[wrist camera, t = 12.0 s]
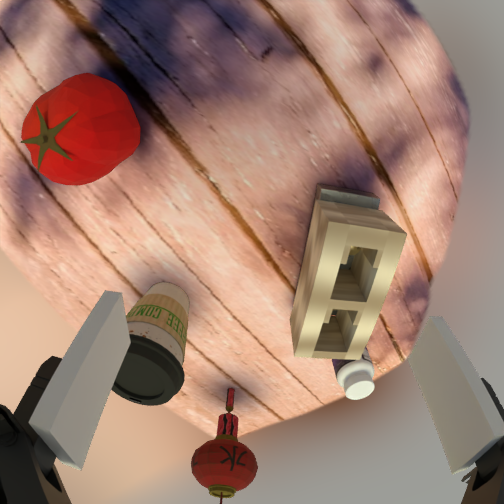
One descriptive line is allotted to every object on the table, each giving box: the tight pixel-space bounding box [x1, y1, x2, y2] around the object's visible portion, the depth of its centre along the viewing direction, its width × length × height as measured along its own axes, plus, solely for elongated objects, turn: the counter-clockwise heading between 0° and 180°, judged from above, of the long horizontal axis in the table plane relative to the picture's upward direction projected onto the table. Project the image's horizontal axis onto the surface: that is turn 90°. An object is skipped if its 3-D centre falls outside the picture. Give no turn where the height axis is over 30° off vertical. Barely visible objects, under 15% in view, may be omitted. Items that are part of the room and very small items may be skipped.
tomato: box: [21, 73, 140, 185], centre depth 26 cm, size 12×12×13 cm
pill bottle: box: [332, 347, 374, 400], centre depth 41 cm, size 5×5×10 cm
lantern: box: [191, 388, 258, 504], centre depth 36 cm, size 10×10×30 cm
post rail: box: [294, 184, 380, 315], centre depth 35 cm, size 16×7×6 cm, turn 173°
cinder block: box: [290, 199, 407, 360], centre depth 34 cm, size 16×8×7 cm, turn 173°
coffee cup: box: [111, 282, 189, 405], centre depth 36 cm, size 10×10×15 cm
